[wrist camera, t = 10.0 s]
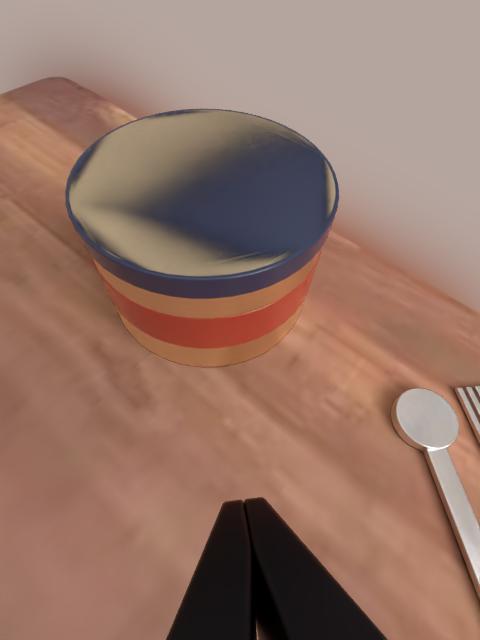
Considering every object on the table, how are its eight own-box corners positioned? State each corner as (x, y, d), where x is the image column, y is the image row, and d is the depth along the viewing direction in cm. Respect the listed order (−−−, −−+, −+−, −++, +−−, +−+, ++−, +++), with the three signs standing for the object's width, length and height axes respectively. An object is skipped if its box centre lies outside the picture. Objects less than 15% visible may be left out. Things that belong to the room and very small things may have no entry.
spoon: (573, 700, 14) (590, 708, 14) (493, 715, 14) (507, 724, 13) (436, 389, 22) (443, 385, 21) (382, 395, 21) (387, 390, 21)
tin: (345, 303, 25) (397, 202, 18) (174, 412, 20) (144, 337, 13) (235, 197, 31) (238, 88, 24) (83, 262, 26) (26, 151, 19)
